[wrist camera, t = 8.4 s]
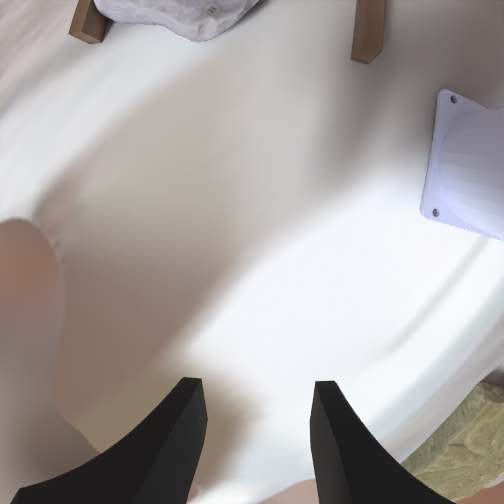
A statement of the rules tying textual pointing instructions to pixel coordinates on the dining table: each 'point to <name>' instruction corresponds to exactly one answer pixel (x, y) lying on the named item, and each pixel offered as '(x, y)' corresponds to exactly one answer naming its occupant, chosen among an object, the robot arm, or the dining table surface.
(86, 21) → the walnut corral
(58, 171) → the dining table surface
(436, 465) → the decorative tile
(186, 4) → the stone block
